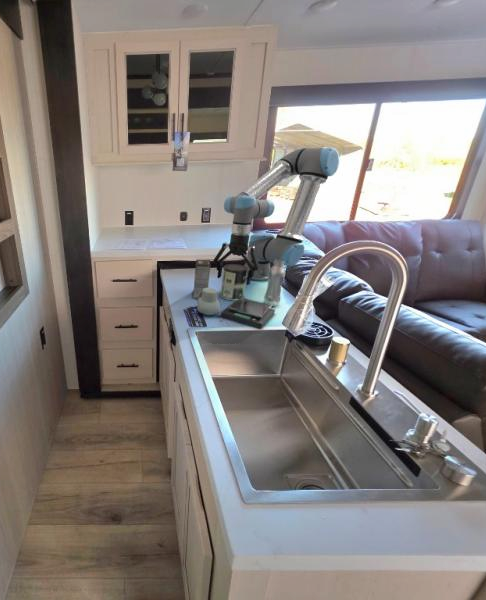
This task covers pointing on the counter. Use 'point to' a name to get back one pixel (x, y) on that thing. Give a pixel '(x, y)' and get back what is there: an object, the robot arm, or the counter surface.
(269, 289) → the plastic bottle
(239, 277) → the coffee can
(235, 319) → the scale
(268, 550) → the counter surface
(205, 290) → the air freshener
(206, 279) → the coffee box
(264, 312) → the scale pan
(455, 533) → the counter surface
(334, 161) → the robot arm
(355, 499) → the counter surface
